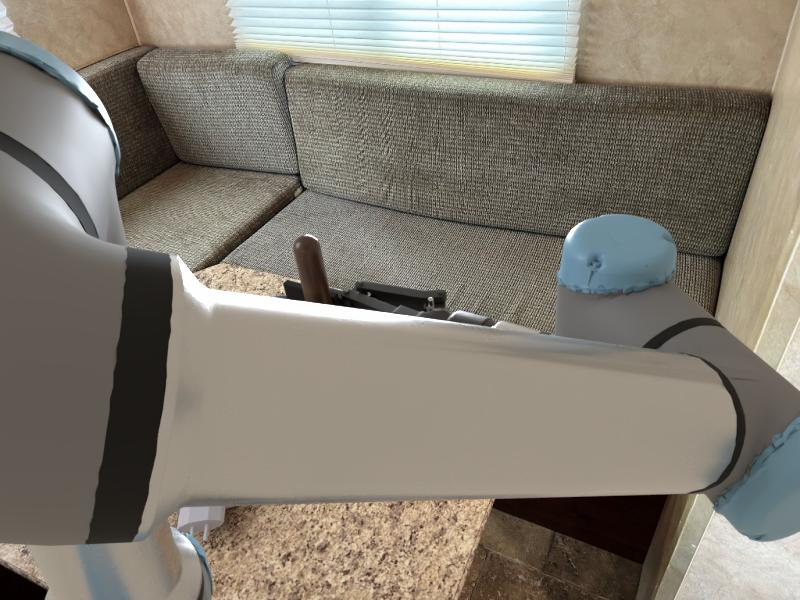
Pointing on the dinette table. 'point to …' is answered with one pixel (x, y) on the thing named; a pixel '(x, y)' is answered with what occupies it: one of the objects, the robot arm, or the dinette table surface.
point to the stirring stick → (312, 270)
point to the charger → (200, 519)
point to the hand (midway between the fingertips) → (278, 300)
